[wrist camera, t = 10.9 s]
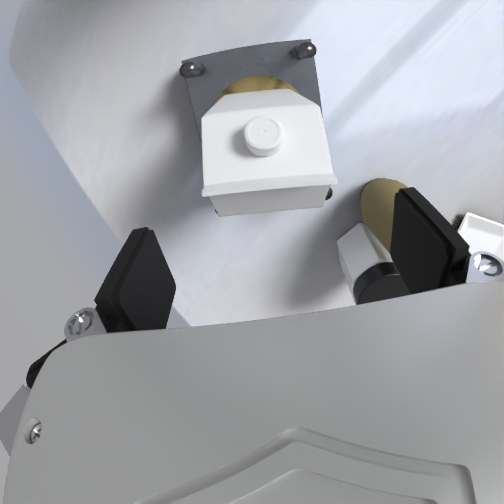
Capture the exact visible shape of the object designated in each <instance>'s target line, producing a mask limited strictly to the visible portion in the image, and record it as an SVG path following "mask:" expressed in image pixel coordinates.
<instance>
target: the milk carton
mask: <svg viewBox="0 0 504 504" xmlns="http://www.w3.org/2000/svg"><path fill="white" fill-rule="evenodd" d="M202 155H203V180H204V187H203V190H202V192H201V195H202V197H205V196H209V198H210V200H211V202H212V204H213V206H214V207H215V209H216V211H217V213H218V215H219V216H220V217H222V216H232V215H242V214H252V213H262V212H272V211H283V210H294V209H306V208H318V207H323V204H324V201H325V198H326V196H327V193H328V190H329V187H330V185H332V184H338V180H337V179H336V177H335V176H334V174H333V169H332V164H331V158H330V153H329V147H328V142H327V137H326V132H325V128H324V123H323V118H322V114H321V109H320V106H318V105H317V104H315V103H314V102H312V101H310V100H308V99H307V98H305V97H303V96H301V95H299V94H298V93H296V92H294V91H292V90H290V89H275V90H263V91H253V92H244V93H236V94H228V95H224V96H223V97H222V98H221V99H220V100H219V101H218V102H217V103H216V104H215V105H214V106H213V107H212V108H211V109H210V110H209V111H208V112H207V113H206V114H205V115H204V116H203V117H202Z"/></svg>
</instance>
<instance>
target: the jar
mask: <svg viewBox="0 0 504 504" xmlns="http://www.w3.org/2000/svg"><path fill="white" fill-rule="evenodd" d="M337 246H338V253H339V260H340V265H341V267H342V270H343V273H344V275H345V278H346V281H347V284H348V286H349V289H350V292H351V295H352V298H353V301H354V303H356V305H360V304H365V303H371V302H376V301H381V300H387V299H392V298H397V297H402V296H406V295H411V294H410V292H409V290H408V288H407V286H406V284H405V282H404V281H403V279H402V277H401V275H400V273H399V271H398V270H397V268H396V266H395V264H394V263H393V261H392V259H391V256H390V254H389V252H388V251H387V250H386V249H385V247H384V246H383V245H382V244H381V243H380V241H379V240H378V239H377V238H376V237H375V235H374V234H373V233H372V232H371V231H370V229H369V228H368V227H367V226H366V225H365V224H362V223H358V224H357V225H356V226H354V227H353V228H352V229H351V230H350V231H348V232H347V233H346V234H345V235H343V236H342V237H341V238H339V239H338V240H337Z"/></svg>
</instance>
